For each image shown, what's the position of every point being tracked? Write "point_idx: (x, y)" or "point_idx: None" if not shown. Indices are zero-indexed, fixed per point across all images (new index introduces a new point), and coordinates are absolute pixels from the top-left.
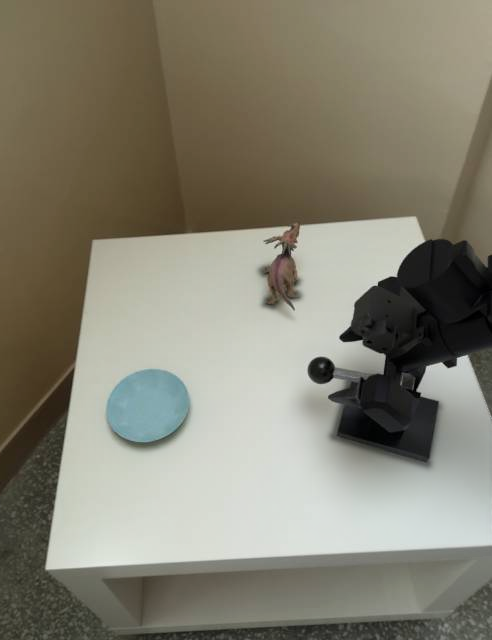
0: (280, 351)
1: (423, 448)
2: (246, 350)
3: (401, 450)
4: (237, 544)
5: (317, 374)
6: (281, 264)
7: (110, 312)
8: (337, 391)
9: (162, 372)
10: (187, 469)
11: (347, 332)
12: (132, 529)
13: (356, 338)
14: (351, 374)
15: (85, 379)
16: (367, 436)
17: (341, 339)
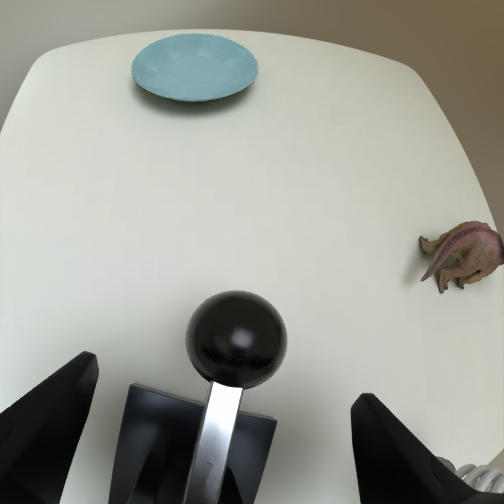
0: (334, 264)
1: None
2: (325, 200)
3: (110, 496)
4: None
5: (198, 321)
6: (491, 238)
7: (341, 56)
8: (70, 387)
9: (253, 74)
10: (92, 125)
11: (384, 424)
12: (40, 91)
13: (361, 453)
14: (209, 446)
15: (242, 33)
16: (127, 445)
17: (359, 401)
